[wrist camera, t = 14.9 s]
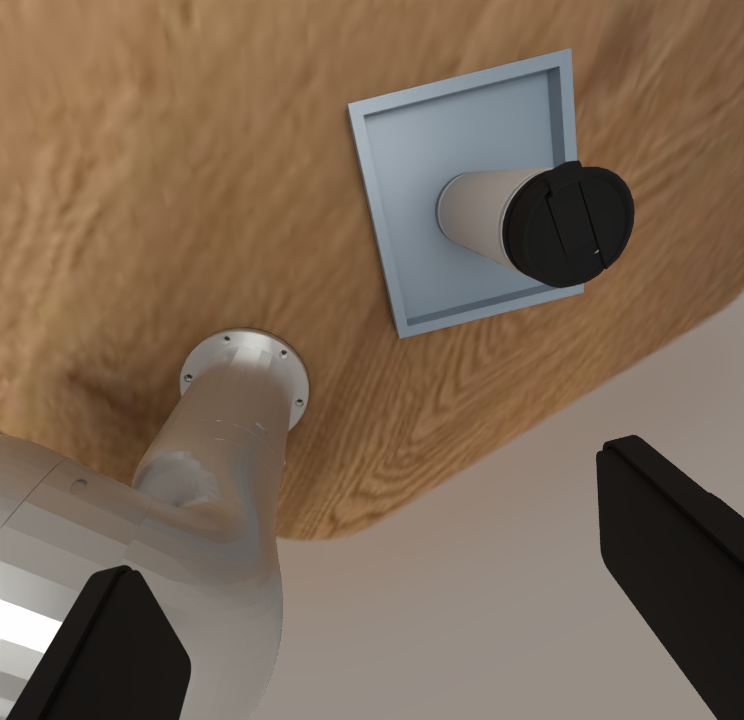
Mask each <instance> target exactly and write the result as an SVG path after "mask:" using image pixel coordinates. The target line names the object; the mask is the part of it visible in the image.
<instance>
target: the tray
mask: <svg viewBox="0 0 744 720" xmlns="http://www.w3.org/2000/svg"><path fill="white" fill-rule="evenodd" d="M346 112H347V116H348V121H349V125H350V130H351V134H352V139H353V143H354V147H355V152H356V156H357V161H358V165H359V170H360V174H361V179H362V183H363V188H364V192H365V197H366V201H367V206H368V210H369V215H370V219H371V224H372V228H373V233H374V237H375V242H376V246H377V251H378V255H379V259H380V264H381V268H382V273H383V277H384V282H385V286H386V291H387V295H388V300H389V304H390V309H391V313H392V318H393V322H394V327H395V330H396V332H397V334H398V336H399V339H402V338H406V337H410V336H414V335H418V334H422V333H426V332H429V331H433V330H437V329H441V328H445V327H449V326H453V325H457V324H461V323H465V322H469V321H473V320H477V319H481V318H485V317H489V316H493V315H497V314H501V313H505V312H508V311H512V310H516V309H520V308H524V307H528V306H532V305H536V304H540V303H544V302H548V301H552V300H556V299H560V298H564V297H568V296H572V295H576V294H580V293H584V285H583V284H580V285H576V286H572V287H566V288H555V287H551V286H548V285H546V284H543V283H541V282H539V281H537V280H535V279H531V278H529V277H526V276H524V275H522V274H520V273H518V272H516V271H514V270H511V269H509V268H507V267H505V266H503V265H501V264H499V263H497V262H495V261H493V260H490V259H488V258H486V257H484V256H482V255H480V254H478V253H476V252H474V251H472V250H469V249H467V248H465V247H463V246H461V245H459V244H457V243H455V242H453V241H451V240H449V239H448V238H447V237H446V236H445V235H444V234H443V233H442V232H441V230H440V228H439V227H438V224H437V221H436V215H435V207H436V202H437V198H438V196H439V194H440V192H441V190H442V189H443V187H444V186H445V185H446V184H447V183H448V182H449V181H450V180H451V179H452V178H454V177H455V176H457V175H460V174H462V173H467V172H480V171H497V170H515V169H533V168H553V167H557V166H559V165H561V164H563V163H565V162H568V161H577V150H576V131H575V112H574V93H573V73H572V54H571V48H570V49H566V50H562V51H558V52H554V53H550V54H546V55H542V56H538V57H534V58H530V59H526V60H522V61H518V62H514V63H510V64H506V65H502V66H498V67H494V68H490V69H486V70H482V71H478V72H474V73H470V74H466V75H462V76H458V77H454V78H450V79H446V80H442V81H438V82H434V83H430V84H426V85H422V86H418V87H414V88H410V89H406V90H402V91H398V92H394V93H390V94H386V95H382V96H378V97H374V98H370V99H366V100H362V101H358V102H354V103H350V104H348V105H347V108H346Z"/></svg>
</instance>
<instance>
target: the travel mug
mask: <svg viewBox="0 0 744 720" xmlns="http://www.w3.org/2000/svg"><path fill="white" fill-rule="evenodd" d="M634 213H635V212H634V202H633V198H632V195H631V192H630V190H629V188H628V187H627V185H626V183H625V182H624V181H623V180H622V179H621V178H620V177H619V176H618V175H617V174H615V173H613V172H612V171H610V170H608V169H604V168H600V167H582V165H581V163H580V161H578V160H577V161H568V162H565V163H563V164H561V165H559V166H557V167H553V168H533V169H515V170H497V171H480V172H467V173H462V174H460V175H457V176H455V177H454V178H452V179H451V180H450V181H449V182H448V183H447V184H446V185H445V186H444V187H443V189H442V190H441V192H440V194H439V196H438V198H437V202H436V207H435V215H436V221H437V224H438V227H439V228H440V230H441V232H442V233H443V234H444V235H445V236H446V237H447V238H448V239H449V240H451V241H453V242H455V243H457V244H459V245H461V246H463V247H465V248H467V249H469V250H472V251H474V252H476V253H478V254H480V255H482V256H484V257H486V258H488V259H490V260H493V261H495V262H497V263H499V264H501V265H503V266H505V267H507V268H509V269H511V270H514V271H516V272H518V273H520V274H522V275H524V276H526V277H529V278H531V279H535V280H537V281H539V282H541V283H543V284H546V285H548V286H551V287H555V288H566V287H572V286H576V285H580V284H583V283H585V282H587V281H590V280H591V279H593V278H595V277H596V276H598V275H599V274H600V273H601V272H602V271H603V270H604V269H607V268H608V267H609V266H611V265H612V264H613V263H614V262H615V261H616V260H617V259H618V258H619V257H620V255H621V253H622V252H623V250H624V249H625V247H626V245H627V243H628V240H629V238H630V236H631V232H632V228H633V224H634Z"/></svg>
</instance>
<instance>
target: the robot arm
mask: <svg viewBox="0 0 744 720" xmlns="http://www.w3.org/2000/svg"><path fill="white" fill-rule="evenodd" d="M225 336H228V337H229V338H230V340H227V339H226V338H225ZM282 350H285V351H287V352H286V353H282ZM188 374H190V375H192V377H190V376H189V375H188ZM180 393H181V399H180V401H179V402H178V404H177V405H176V407H175V408H174V410H173V411H172V413H171V414H170V416H169V417H168V419H167V420H166V422H165V423H164V425H163V426H162V428H161V430H160V431H159V433H158V434H157V436H156V437H155V439H154V440H153V442H152V443H151V445H150V446H149V448H148V449H147V451H146V452H145V454H144V456H143V457H142V459H141V461H140V462H139V465H138V467H137V469H136V471H135V474H134V477H133V481H132V485H131V487H129V486H127V485H125V484H123V483H121V482H119V481H117V480H115V479H112V478H110V477H108V476H106V475H104V474H102V473H100V472H98V471H96V470H93V469H91V468H89V467H87V466H85V465H83V464H81V463H79V462H77V461H75V460H72V459H70V458H68V457H66V456H64V455H62V454H59V453H57V452H55V451H53V450H51V449H49V448H46V447H44V446H41V445H39V444H36V443H34V442H31V441H28V440H25V439H22V438H18V437H13V436H8V435H0V720H248V719H249V718H250V716H251V715H252V714H253V712H254V711H255V709H256V707H257V706H258V704H259V702H260V700H261V698H262V696H263V695H264V692H265V690H266V688H267V686H268V683H269V681H270V678H271V675H272V672H273V669H274V666H275V663H276V659H277V655H278V650H279V645H280V640H281V632H282V619H283V594H282V582H281V573H280V566H279V559H278V553H277V544H276V519H277V509H278V500H279V493H280V487H281V480H282V473H283V466H284V465H285V464H286V462H287V461H286V458H285V452H286V445H287V438H288V432H289V431H290V430H291V429H292V428H293V427H294V426H295V425H296V424H297V423H298V421H299V420H300V419H301V417H302V416H303V413H304V411H305V409H306V407H307V402H308V398H309V379H308V375H307V371H306V368H305V366H304V364H303V362H302V360H301V359H300V357H299V356H298V354H297V353H296V352H295V351H294V350H293V348H292V347H290V346H289V345H288V344H287V343H286V342H284V341H283V340H282V339H280V338H278V337H276V336H274V335H273V334H270V333H267V332H264V331H261V330H257V329H251V328H233V329H228V330H223V331H220V332H218V333H215V334H213V335H211V336H209V337H208V338H206V339H205V340H203V341H202V342H200V343H199V344H198V345H197V346H196V347H195V348H194V349H193V351H192V352H191V353H190V355H189V356H188V357H187V359H186V361H185V363H184V366H183V368H182V371H181V375H180ZM298 399H301V400H302V401H298ZM596 463H597V485H598V505H599V527H600V545H601V546H600V547H601V555H602V558H603V561H604V563H605V565H606V567H607V569H608V570H609V572H610V573H611V574H612V576H613V577H614V579H615V580H616V581H617V583H618V584H619V585H620V587H621V588H622V589H623V591H624V592H625V594H626V595H627V596H628V598H629V599H630V600H631V602H632V603H633V605H634V606H635V607H636V609H637V610H638V611H639V613H640V614H641V615H642V617H643V618H644V620H645V621H646V622H647V624H648V625H649V626H650V628H651V629H652V631H653V632H654V633H655V635H656V636H657V637H658V639H659V640H660V642H661V643H662V644H663V646H664V647H665V648H666V650H667V651H668V652H669V654H670V655H671V657H672V658H673V659H674V660H675V662H676V663H677V665H678V666H679V668H680V669H681V670H682V672H683V673H684V674H685V676H686V677H687V678H688V680H689V681H690V683H691V684H692V685H693V687H694V688H695V689H696V691H697V692H698V694H699V695H700V696H701V698H702V699H703V700H704V702H705V703H706V704H707V706H708V707H709V709H710V710H711V711H712V713H713V714H714V715H715V717H716V718H717V720H744V518H743V517H742V516H741V515H739V514H738V513H737V512H736V511H734V510H733V509H732V508H731V507H730V506H728V505H727V504H726V503H724V502H723V501H722V500H721V499H719V498H718V497H716V496H714V495H713V494H712V493H709V492H707V491H705V490H704V489H703V488H702V487H701V486H699V485H698V484H697V483H696V482H694V481H693V480H692V479H691V478H689V477H688V476H687V475H686V474H685V473H683V472H682V471H681V470H680V469H678V468H677V467H676V466H675V465H673V464H672V463H671V462H670V461H669V460H667V459H666V458H665V457H664V456H662V455H661V454H660V453H659V452H657V451H656V450H655V449H654V448H653V447H651V446H650V445H649V444H648V443H646V442H645V441H644V440H643V439H642V438H640V437H638V436H636V435H630V436H627V437H623V438H619V439H615V440H611V441H607V442H605V443H604V445H603V450H602V451H599V452H597V455H596Z"/></svg>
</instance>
